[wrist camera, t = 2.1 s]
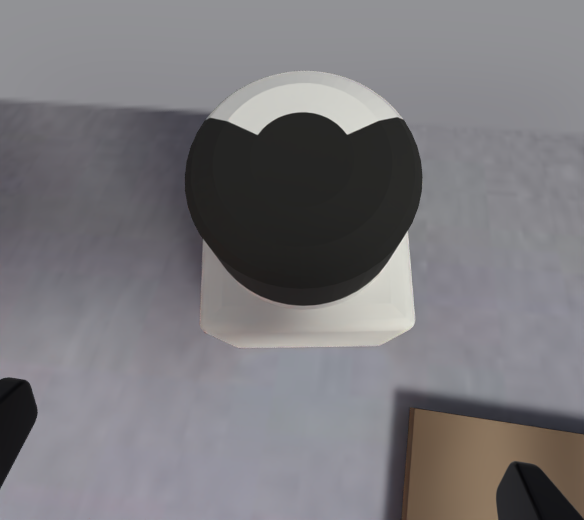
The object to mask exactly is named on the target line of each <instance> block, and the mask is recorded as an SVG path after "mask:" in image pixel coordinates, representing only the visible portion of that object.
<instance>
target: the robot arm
mask: <svg viewBox="0 0 584 520" xmlns="http://www.w3.org/2000/svg"><path fill="white" fill-rule="evenodd" d="M36 418H37V405H36V402H35V399H34V395H33V392H32V389H31V386H30V383H29V382H28V381H26V380H23V379H17V378H9V377H8V378H3V379H1V380H0V488H1V486H2V485H3V483H4V481H5V479H6V477H7V475H8V473H9V471H10V469H11V467H12V465H13V463H14V462H15V460H16V458H17V456H18V454H19V452H20V450H21V448H22V446H23V444H24V442H25V440H26V439H27V437H28V435H29V433H30V431H31V429H32V427H33V425H34V423H35V421H36ZM496 506H497V514H498V520H584V518H583V517H582V516H581V515H580V514H579V512H578V511H577V510H576V509H575V508H574V507H573V505H572V504H571V503H570V502H569V501H568V500H567V498H566V497H565V496H564V495H563V494H562V493H561V491H560V490H559V489H558V488H557V487H556V486H555V484H554V483H553V482H552V481H551V480H550V479H549V477H548V476H547V475H546V474H545V473H544V472H543V470H542V469H541V468H539V467H538V466H537V465H535V464H531V463H525V462H519V461H513V462H511V463H510V464H509V466H508V468H507V470H506V472H505V474H504V476H503V478H502V480H501V482H500V484H499V485H498V488H497V492H496Z"/></svg>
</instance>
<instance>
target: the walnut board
mask: <svg viewBox="0 0 584 520" xmlns="http://www.w3.org/2000/svg"><path fill="white" fill-rule="evenodd" d="M513 461H519V462H525V463H531V464H535V465H537V466H538V467H539V468H541V469H542V470H543V472H544V473H545V474H546V475H547V476H548V477H549V479H550V480H551V481H552V482H553V483H554V484H555V486H556V487H557V488H558V489H559V490H560V491H561V493H562V494H563V495H564V496H565V497H566V498H567V500H568V501H569V502H570V503H571V504H572V505H573V507H574V508H575V509H576V510H577V511H578V512H579V514H580V515H581V516H582V517H583V518H584V434H579V433H573V432H566V431H560V430H553V429H547V428H540V427H534V426H527V425H521V424H514V423H508V422H502V421H495V420H489V419H482V418H476V417H469V416H463V415H456V414H450V413H443V412H437V411H430V410H424V409H417V408H411V407H410V415H409V428H408V441H407V454H406V467H405V479H404V492H403V505H402V518H401V520H498V514H497V506H496V492H497V488H498V485H499V484H500V482H501V480H502V478H503V476H504V474H505V472H506V470H507V468H508V466H509V464H510V463H511V462H513Z"/></svg>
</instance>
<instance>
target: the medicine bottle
mask: <svg viewBox="0 0 584 520" xmlns="http://www.w3.org/2000/svg"><path fill="white" fill-rule="evenodd" d="M185 192H186V198H187V204H188V208H189V211H190V214H191V217H192V220H193V222H194V224H195V226H196V228H197V230H198V232H199V233H200V235H201V237H202V238H203V254H202V279H201V304H200V326H201V329H202V330H203V331H204V332H205V333H207V334H209V335H211V336H213V337H215V338H217V339H219V340H222V341H224V342H226V343H228V344H230V345H232V346H234V347H237V348H281V347H344V346H379V345H382V344H384V343H385V342H387V341H389V340H391V339H393V338H395V337H397V336H398V335H400V334H402V333H404V332H406V331H408V330H410V329H411V328H412V327H413V326H414V323H415V310H414V298H413V287H412V275H411V263H410V251H409V239H408V229H409V227H410V226H411V224H412V222H413V219H414V217H415V214H416V212H417V209H418V206H419V201H420V197H421V192H422V167H421V160H420V156H419V152H418V148H417V145H416V143H415V140H414V138H413V135H412V133H411V131H410V130H409V128H408V126H407V125H406V123H405V121H404V120H403V118H402V117H401V116H400V115H399V114H398V113H397V111H396V110H395V109H394V108H393V107H392V106H391V105H390V104H389V103H388V102H387V101H386V100H385V99H384V98H383V97H381V96H380V95H378V94H377V93H375V92H374V91H373V90H371V89H370V88H368V87H366V86H364V85H362V84H360V83H358V82H356V81H353V80H351V79H348V78H345V77H343V76H339V75H334V74H330V73H324V72H315V71H294V72H286V73H280V74H276V75H272V76H268V77H265V78H262V79H260V80H257V81H254V82H252V83H250V84H248V85H246V86H244V87H242V88H240V89H239V90H237V91H236V92H234V93H233V94H231V95H230V96H229V97H227V98H226V99H225V100H224V101H223V102H222V103H220V104H219V105H218V106H217V107H216V108H215V109H214V110H213V111H212V112H211V114H210V115H209V116H208V117H207V118H206V120H205V121H204V123H203V124H202V126H201V127H200V129H199V131H198V132H197V134H196V136H195V139H194V141H193V143H192V145H191V148H190V152H189V155H188V159H187V164H186V172H185Z"/></svg>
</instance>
